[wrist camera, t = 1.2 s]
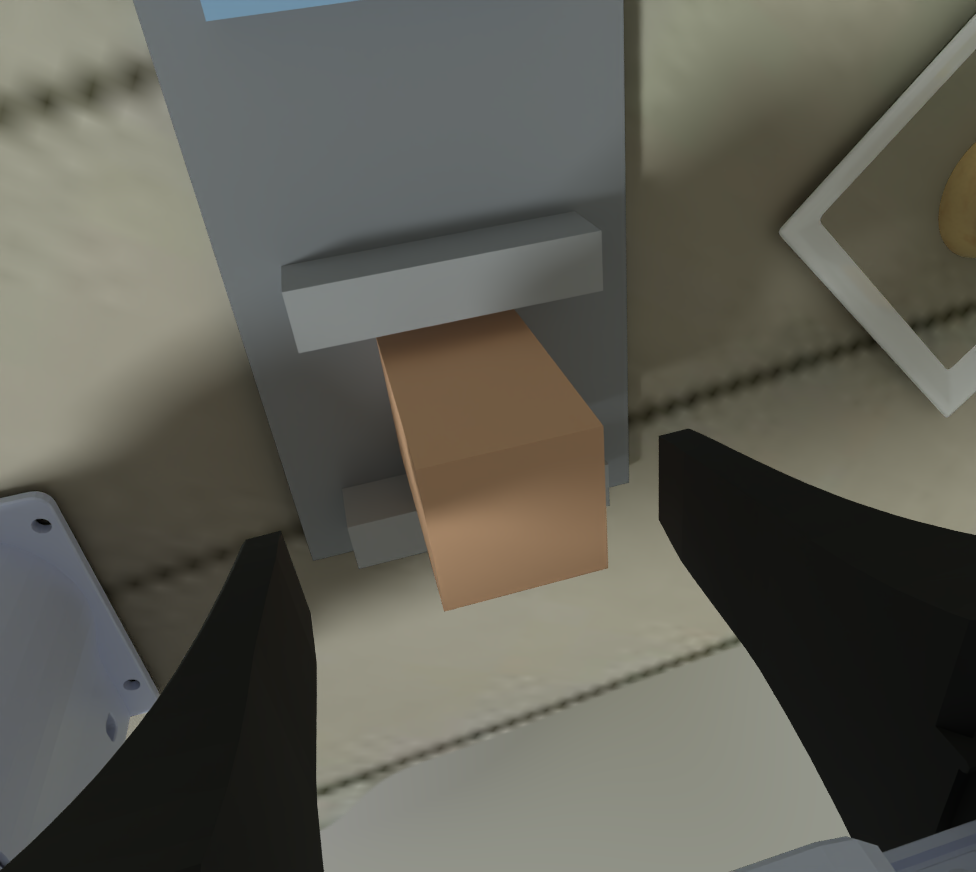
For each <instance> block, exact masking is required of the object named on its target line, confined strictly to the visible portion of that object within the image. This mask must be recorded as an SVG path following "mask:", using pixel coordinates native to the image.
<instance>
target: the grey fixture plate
mask: <svg viewBox="0 0 976 872" xmlns="http://www.w3.org/2000/svg"><path fill="white" fill-rule="evenodd" d="M133 2H134V5H135V8H136V12H137V15H138V18H139V21H140V24H141V27H142V30H143V33H144V36H145V40H146V43H147V46H148V49H149V52H150V55H151V58H152V61H153V64H154V68H155V71H156V74H157V77H158V80H159V83H160V86H161V89H162V92H163V96H164V99H165V102H166V105H167V108H168V111H169V114H170V117H171V120H172V124H173V127H174V130H175V133H176V136H177V139H178V142H179V145H180V148H181V152H182V155H183V158H184V161H185V164H186V167H187V170H188V173H189V176H190V180H191V183H192V186H193V189H194V192H195V195H196V198H197V201H198V204H199V208H200V211H201V214H202V217H203V220H204V223H205V226H206V229H207V232H208V236H209V239H210V242H211V245H212V248H213V251H214V254H215V257H216V260H217V264H218V267H219V270H220V273H221V276H222V279H223V282H224V285H225V288H226V292H227V295H228V298H229V301H230V304H231V307H232V310H233V313H234V316H235V320H236V323H237V326H238V329H239V332H240V335H241V338H242V341H243V344H244V348H245V351H246V354H247V357H248V360H249V363H250V366H251V369H252V372H253V376H254V379H255V382H256V385H257V388H258V391H259V394H260V397H261V400H262V404H263V407H264V410H265V413H266V416H267V419H268V422H269V425H270V428H271V432H272V435H273V438H274V441H275V444H276V447H277V450H278V453H279V456H280V460H281V463H282V466H283V469H284V472H285V475H286V478H287V481H288V484H289V488H290V491H291V494H292V497H293V500H294V503H295V506H296V509H297V512H298V516H299V519H300V522H301V525H302V528H303V531H304V534H305V537H306V540H307V544H308V547H309V550H310V553H311V556H312V559H313V561H315V560H319V559H323V558H327V557H331V556H335V555H339V554H343V553H347V552H351V551H354V553H355V557H356V561H357V564H358V568H359V569H360V568H364V567H368V566H372V565H376V564H380V563H384V562H388V561H392V560H396V559H400V558H404V557H408V556H412V555H416V554H420V553H424V552H428V550H427V547H426V543H425V540H424V536H423V532H422V529H421V525H420V521H419V518H418V514H417V511H416V507H415V503H414V500H413V496H412V492H411V489H410V485H409V482H408V478H407V474H406V471H405V467H404V463H403V460H402V456H401V452H400V448H399V443H398V438H397V434H396V429H395V424H394V420H393V415H392V410H391V405H390V401H389V396H388V391H387V387H386V382H385V377H384V373H383V368H382V363H381V359H380V354H379V349H378V345H377V340H376V337H381V336H385V335H390V334H395V333H400V332H405V331H410V330H415V329H419V328H424V327H429V326H434V325H439V324H444V323H449V322H453V321H458V320H463V319H468V318H473V317H478V316H483V315H487V314H492V313H497V312H502V311H507V310H512V309H515V311H516V312H517V313H518V315H519V316H520V317H521V319H522V320H523V321H524V323H525V324H526V325H527V326H528V328H529V329H530V330H531V332H532V333H533V334H534V336H535V337H536V338H537V340H538V341H539V342H540V343H541V345H542V346H543V347H544V349H545V350H546V351H547V353H548V354H549V355H550V357H551V358H552V359H553V361H554V362H555V363H556V364H557V366H558V367H559V368H560V370H561V371H562V372H563V374H564V375H565V376H566V378H567V379H568V380H569V381H570V383H571V384H572V385H573V387H574V388H575V389H576V391H577V392H578V393H579V395H580V396H581V397H582V399H583V400H584V401H585V402H586V404H587V405H588V406H589V408H590V409H591V410H592V412H593V413H594V414H595V416H596V417H597V418H598V419H599V421H600V422H601V423H602V425H603V428H604V459H605V489H606V506H610V503H609V487H613V486H617V485H621V484H625V483H629V454H628V366H627V278H626V190H625V102H624V14H623V0H133Z"/></svg>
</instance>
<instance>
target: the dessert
mask: <svg viewBox="0 0 976 872" xmlns="http://www.w3.org/2000/svg"><path fill="white" fill-rule="evenodd" d="M975 49H976V14H975V15H974V16H973V17H972V18H971V19H970V21H969V22H968V23H967V24H966V25H965V26H964V27H963V28H962V29H961V30H960V32H959V33H958V34H957V35H956V36H955V37H954V38H953V39H952V40H951V41H950V42H949V44H948V45H947V46H946V47H945V48H944V49H943V50H942V51H941V52H940V53H939V55H938V56H937V57H936V58H935V59H934V60H933V61H932V62H931V63H930V64H929V66H928V67H927V68H926V69H925V70H924V71H923V72H922V73H921V74H920V75H919V77H918V78H917V79H916V80H915V81H914V82H913V83H912V84H911V85H910V86H909V87H908V89H907V90H906V91H905V92H904V93H903V94H902V95H901V96H900V97H899V98H898V100H897V101H896V102H895V103H894V104H893V105H892V106H891V107H890V108H889V109H888V111H887V112H886V113H885V114H884V115H883V116H882V117H881V118H880V119H879V120H878V121H877V123H876V124H875V125H874V126H873V127H872V128H871V129H870V130H869V131H868V132H867V134H866V135H865V136H864V137H863V138H862V139H861V140H860V141H859V142H858V143H857V145H856V146H855V147H854V148H853V149H852V150H851V151H850V152H849V153H848V154H847V155H846V157H845V158H844V159H843V160H842V161H841V162H840V163H839V164H838V165H837V166H836V168H835V169H834V170H833V171H832V172H831V173H830V174H829V175H828V176H827V177H826V179H825V180H824V181H823V182H822V183H821V184H820V185H819V186H818V187H817V188H816V190H815V191H814V192H813V193H812V194H811V195H810V196H809V197H808V198H807V199H806V200H805V202H804V203H803V204H802V205H801V206H800V207H799V208H798V209H797V210H796V211H795V213H794V214H793V215H792V216H791V217H790V218H789V219H788V220H787V221H786V222H785V224H784V225H783V226H782V227H781V228H780V230H779V235H780V236H781V237H782V238H783V239H784V241H785V242H786V243H787V244H788V245H789V246H790V247H791V248H792V249H793V250H794V252H795V253H796V254H797V255H798V256H799V257H800V258H801V259H802V260H803V261H804V263H805V264H806V265H807V266H808V267H809V268H810V269H811V270H812V271H813V272H814V274H815V275H816V276H817V277H818V278H819V279H820V280H821V281H822V282H823V284H824V285H825V286H826V287H827V288H828V289H829V290H830V291H831V292H832V293H833V295H834V296H835V297H836V298H837V299H838V300H839V301H840V302H841V303H842V304H843V306H844V307H845V308H846V309H847V310H848V311H849V312H850V313H851V314H852V315H853V317H854V318H855V319H856V320H857V321H858V322H859V323H860V324H861V325H862V326H863V328H864V329H865V330H866V331H867V332H868V333H869V334H870V335H871V336H872V337H873V339H874V340H875V341H876V342H877V343H878V344H879V345H880V346H881V347H882V348H883V350H884V351H885V352H886V353H887V354H888V355H889V356H890V357H891V358H892V359H893V361H894V362H895V363H896V364H897V365H898V366H899V367H900V368H901V369H902V370H903V372H904V373H905V374H906V375H907V376H908V377H909V378H910V379H911V380H912V382H913V383H914V384H915V385H916V386H917V387H918V388H919V389H920V390H921V391H922V393H923V394H924V395H925V396H926V397H927V398H928V399H929V400H930V401H931V402H932V404H933V405H934V406H935V407H936V408H937V409H938V410H939V411H940V412H941V413H942V415H943V416H944V417H949V416H950V415H951V414H953V413H954V412H955V411H956V410H957V409H958V408H959V407H960V406H961V405H962V404H963V403H964V402H965V401H967V400H968V399H969V398H970V397H971V396H972V395H973V394H974V393H975V392H976V345H975V346H974V347H973V348H972V349H971V350H970V351H969V352H968V353H966V354H965V355H964V356H963V357H962V358H961V359H960V360H959V361H958V362H957V363H956V364H955V365H954V366H953V367H952V368H950V369H946V368H945V367H944V366H943V365H942V364H941V362H940V361H939V360H938V359H937V358H936V357H935V355H934V354H933V353H932V352H931V351H930V350H929V348H928V347H927V346H926V345H925V344H924V343H923V341H922V340H921V339H920V338H919V337H918V336H917V334H916V333H915V332H914V331H913V330H912V329H911V328H910V326H909V325H908V324H907V323H906V322H905V321H904V319H903V318H902V317H901V316H900V315H899V314H898V312H897V311H896V310H895V309H894V308H893V307H892V305H891V304H890V303H889V302H888V301H887V300H886V298H885V297H884V296H883V295H882V294H881V293H880V291H879V290H878V289H877V288H876V287H875V286H874V284H873V283H872V282H871V281H870V280H869V279H868V277H867V276H866V275H865V274H864V273H863V272H862V270H861V269H860V268H859V267H858V266H857V265H856V263H855V262H854V261H853V260H852V259H851V258H850V256H849V255H848V254H847V253H846V252H845V251H844V249H843V248H842V247H841V246H840V245H839V244H838V242H837V241H836V240H835V239H834V238H833V237H832V235H831V234H830V233H829V232H828V231H827V230H826V228H825V227H824V226H823V225H822V224H821V220H820V219H821V217H822V215H823V214H824V213H825V212H826V210H827V209H828V208H829V207H830V206H831V205H832V204H833V203H834V202H835V201H836V200H837V199H838V197H839V196H840V195H841V194H842V193H843V192H844V191H845V190H846V189H847V188H848V187H849V186H850V185H851V183H852V182H853V181H854V180H855V179H856V178H857V177H858V176H859V175H860V174H861V173H862V172H863V170H864V169H865V168H866V167H867V166H868V165H869V164H870V163H871V162H872V161H873V160H874V159H875V158H876V156H877V155H878V154H879V153H880V152H881V151H882V150H883V149H884V148H885V147H886V146H887V145H888V143H889V142H890V141H891V140H892V139H893V138H894V137H895V136H896V135H897V134H898V133H899V132H900V130H901V129H902V128H903V127H904V126H905V125H906V124H907V123H908V122H909V121H910V120H911V119H912V118H913V116H914V115H915V114H916V113H917V112H918V111H919V110H920V109H921V108H922V107H923V106H924V105H925V103H926V102H927V101H928V100H929V99H930V98H931V97H932V96H933V95H934V94H935V93H936V92H937V91H938V89H939V88H940V87H941V86H942V85H943V84H944V83H945V82H946V81H947V80H948V79H949V78H950V76H951V75H952V74H953V73H954V72H955V71H956V70H957V69H958V68H959V67H960V66H961V65H962V63H963V62H964V61H965V60H966V59H967V58H968V57H969V56H970V55H971V54H972V53H973V52H974V51H975ZM938 221H939V230H940V234H941V237H942V239H943V241H944V243H945V245H946V246H947V247H948V248H949V249H950V250H951V251H952V252H953V253H955V254H957V255H959V256H962V257H966V258H976V142H975V143H974V144H973V145H972V146H971V147H970V148H969V149H968V151H967V152H966V153H965V154H964V155H963V157H962V158H961V159H960V161H959V162H958V164H957V165H956V167H955V168H954V170H953V172H952V174H951V175H950V177H949V179H948V182H947V184H946V186H945V189H944V191H943V195H942V198H941V202H940V207H939V217H938Z"/></svg>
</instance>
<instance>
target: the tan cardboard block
mask: <svg viewBox="0 0 976 872" xmlns="http://www.w3.org/2000/svg"><path fill="white" fill-rule="evenodd" d="M376 340H377V345H378V349H379V354H380V359H381V363H382V368H383V373H384V377H385V382H386V387H387V391H388V396H389V401H390V405H391V410H392V415H393V420H394V424H395V429H396V434H397V438H398V443H399V448H400V452H401V456H402V460H403V463H404V467H405V471H406V474H407V478H408V482H409V485H410V489H411V492H412V496H413V500H414V503H415V507H416V511H417V514H418V518H419V521H420V525H421V529H422V532H423V536H424V540H425V543H426V547H427V550H428V554H429V558H430V561H431V565H432V569H433V572H434V576H435V579H436V583H437V587H438V590H439V594H440V598H441V601H442V605H443V608H444V611H448V610H452V609H456V608H459V607H463V606H467V605H471V604H475V603H478V602H482V601H486V600H490V599H493V598H497V597H501V596H505V595H508V594H512V593H516V592H520V591H524V590H527V589H531V588H535V587H539V586H542V585H546V584H550V583H554V582H557V581H561V580H565V579H569V578H573V577H576V576H580V575H584V574H588V573H591V572H595V571H599V570H603V569H607V568H608V550H607V520H606V489H605V459H604V428H603V425H602V423H601V422H600V421H599V419H598V418H597V417H596V416H595V414H594V413H593V412H592V410H591V409H590V408H589V406H588V405H587V404H586V402H585V401H584V400H583V399H582V397H581V396H580V395H579V393H578V392H577V391H576V389H575V388H574V387H573V385H572V384H571V383H570V381H569V380H568V379H567V378H566V376H565V375H564V374H563V372H562V371H561V370H560V368H559V367H558V366H557V364H556V363H555V362H554V361H553V359H552V358H551V357H550V355H549V354H548V353H547V351H546V350H545V349H544V347H543V346H542V345H541V343H540V342H539V341H538V340H537V338H536V337H535V336H534V334H533V333H532V332H531V330H530V329H529V328H528V326H527V325H526V324H525V323H524V321H523V320H522V319H521V317H520V316H519V315H518V313H517V312H516V311H515V309H512V310H507V311H502V312H497V313H492V314H487V315H483V316H478V317H473V318H468V319H463V320H458V321H453V322H449V323H444V324H439V325H434V326H429V327H424V328H419V329H415V330H410V331H405V332H400V333H395V334H390V335H385V336H381V337H376Z"/></svg>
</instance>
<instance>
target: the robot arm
mask: <svg viewBox="0 0 976 872" xmlns="http://www.w3.org/2000/svg"><path fill="white" fill-rule="evenodd" d="M36 519H45V520H48V521H49V522H50V523H51V524H50V525H42V524H39V523H38V522H37V521H36ZM659 521H660V523H661V525H662V526H663V528H664V530H665V532H666V534H667V536H668V538H669V540H670V542H671V544H672V545H673V547H674V549H675V551H676V553H677V554H678V556H679V558H680V560H681V561H682V563H683V564H684V566H685V567H686V568H687V570H688V571H689V573H690V574H691V575H692V577H693V578H694V580H695V581H696V582H697V584H698V585H699V586H700V588H701V589H702V591H703V592H704V593H705V595H706V596H707V597H708V599H709V600H710V601H711V603H712V604H713V605H714V607H715V608H716V609H717V611H718V612H719V613H720V615H721V616H722V617H723V619H724V620H725V622H726V623H727V624H728V626H729V627H730V628H731V630H732V631H733V632H734V634H735V635H736V636H737V638H738V639H739V640H740V642H741V643H742V644H743V646H744V647H745V648H746V650H747V651H748V653H749V654H750V656H751V657H752V659H753V660H754V662H755V663H756V665H757V666H758V667H759V669H760V671H761V672H762V674H763V676H764V678H765V679H766V681H767V683H768V684H769V686H770V688H771V689H772V691H773V693H774V695H775V696H776V698H777V700H778V701H779V703H780V705H781V706H782V708H783V710H784V711H785V713H786V715H787V717H788V719H789V720H790V722H791V724H792V725H793V728H794V729H795V731H796V733H797V735H798V736H799V738H800V740H801V742H802V744H803V746H804V747H805V749H806V751H807V753H808V754H809V756H810V758H811V760H812V762H813V764H814V766H815V768H816V770H817V772H818V774H819V775H820V777H821V779H822V781H823V783H824V785H825V787H826V789H827V791H828V793H829V795H830V796H831V798H832V800H833V802H834V804H835V806H836V808H837V810H838V812H839V814H840V816H841V818H842V820H843V822H844V824H845V826H846V828H847V830H848V832H849V834H850V836H851V838H850V837H846V836H845V837H840V838H835V839H830V840H825V841H819V842H814V843H811V844H809V845H806V846H803V847H800V848H797V849H794V850H791V851H789V852H785V853H782V854H779V855H777V856H774V857H771V858H768V859H765V860H762V861H759V862H756V863H754V864H751V865H747V866H745V867H742V868H739V869H736V870H733V871H730V872H976V535H973V534H968V533H963V532H958V531H954V530H950V529H946V528H942V527H938V526H934V525H930V524H926V523H922V522H918V521H914V520H910V519H907V518H903V517H900V516H896V515H893V514H890V513H887V512H884V511H880V510H877V509H874V508H871V507H868V506H865V505H862V504H859V503H856V502H853V501H850V500H848V499H845V498H842V497H839V496H837V495H834V494H832V493H829V492H827V491H824V490H822V489H819V488H817V487H814V486H812V485H809V484H807V483H804V482H802V481H800V480H798V479H795V478H793V477H791V476H788V475H786V474H784V473H782V472H780V471H777V470H775V469H773V468H771V467H769V466H767V465H764V464H762V463H760V462H758V461H756V460H754V459H752V458H750V457H748V456H746V455H744V454H742V453H740V452H737V451H735V450H733V449H731V448H729V447H727V446H725V445H723V444H721V443H719V442H717V441H715V440H713V439H711V438H709V437H707V436H704V435H702V434H700V433H698V432H695V431H693V430H691V429H685V430H681V431H677V432H673V433H669V434H665V435H661V436H659ZM132 679H134V680H137V681H129V680H132ZM146 712H148V713H147V714H146V715H145V717H144V718H143V720H142V721H141V722H140V724H139V725H138V726H137V727H136V729H135V730H134V731H133V732H132V734H131V735H130V736H129V737H128V738H127V740H126V741H125V739H126V734H127V729H128V724H129V719H130V717H131V716H134V715H138V714H142V713H146ZM316 715H317V663H316V654H315V645H314V637H313V629H312V621H311V614H310V610H309V607H308V605H307V602H306V599H305V596H304V594H303V591H302V588H301V585H300V583H299V580H298V577H297V574H296V572H295V569H294V566H293V563H292V561H291V558H290V555H289V552H288V550H287V547H286V544H285V541H284V538H283V536H282V533H281V531H278V532H274V533H270V534H267V535H263V536H259V537H255V538H251V539H247V540H246V541H245V542H244V544H243V545H242V547H241V549H240V551H239V553H238V556H237V558H236V560H235V562H234V565H233V567H232V569H231V571H230V573H229V575H228V577H227V580H226V582H225V584H224V586H223V588H222V590H221V592H220V594H219V596H218V598H217V600H216V602H215V604H214V606H213V607H212V609H211V611H210V613H209V615H208V617H207V619H206V621H205V623H204V624H203V626H202V628H201V630H200V632H199V634H198V635H197V637H196V639H195V640H194V642H193V644H192V645H191V647H190V649H189V650H188V652H187V654H186V655H185V657H184V659H183V660H182V662H181V664H180V665H179V667H178V669H177V670H176V672H175V674H174V675H173V677H172V678H171V680H170V681H169V683H168V684H167V686H166V687H165V689H164V690H163V692H162V693H161V695H160V696H159V692H158V690H157V688H156V686H155V684H154V682H153V681H152V679H151V677H150V675H149V673H148V671H147V670H146V668H145V666H144V664H143V662H142V660H141V658H140V657H139V655H138V653H137V651H136V649H135V647H134V646H133V644H132V642H131V640H130V638H129V636H128V635H127V633H126V631H125V629H124V627H123V625H122V623H121V622H120V620H119V618H118V616H117V614H116V612H115V611H114V609H113V607H112V605H111V603H110V601H109V599H108V598H107V596H106V594H105V592H104V590H103V588H102V587H101V585H100V583H99V581H98V579H97V577H96V576H95V574H94V572H93V570H92V568H91V566H90V564H89V563H88V561H87V559H86V557H85V555H84V553H83V552H82V550H81V548H80V546H79V544H78V542H77V540H76V539H75V537H74V535H73V533H72V531H71V529H70V528H69V526H68V524H67V522H66V520H65V518H64V516H63V515H62V513H61V511H60V509H59V507H58V505H57V504H56V502H55V500H54V499H53V498H52V497H51V496H49V495H48V494H46V493H43V492H38V491H33V492H26V493H21V494H17V495H12V496H8V497H3V498H0V872H324V869H323V860H322V850H321V840H320V829H319V818H318V808H317V788H316Z"/></svg>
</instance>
